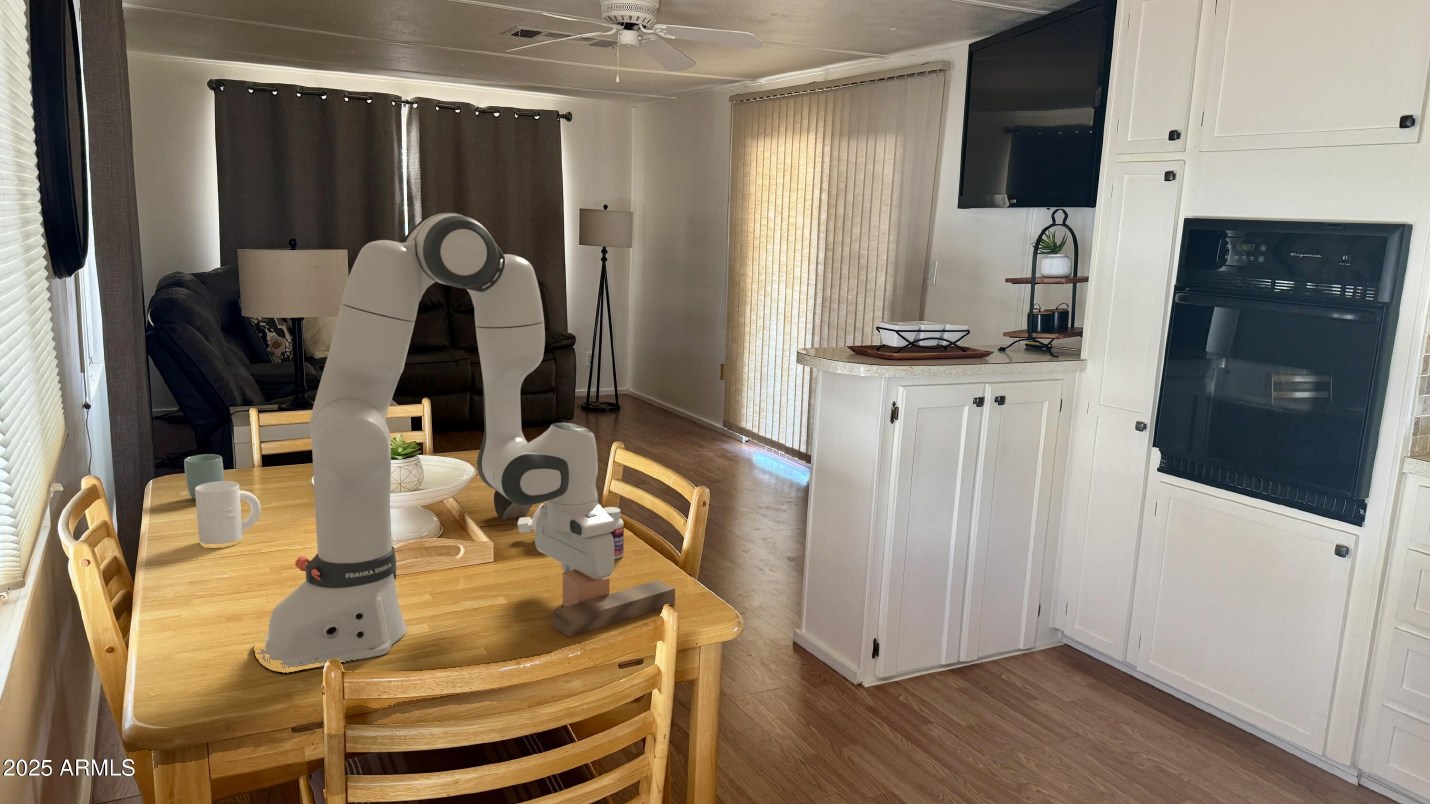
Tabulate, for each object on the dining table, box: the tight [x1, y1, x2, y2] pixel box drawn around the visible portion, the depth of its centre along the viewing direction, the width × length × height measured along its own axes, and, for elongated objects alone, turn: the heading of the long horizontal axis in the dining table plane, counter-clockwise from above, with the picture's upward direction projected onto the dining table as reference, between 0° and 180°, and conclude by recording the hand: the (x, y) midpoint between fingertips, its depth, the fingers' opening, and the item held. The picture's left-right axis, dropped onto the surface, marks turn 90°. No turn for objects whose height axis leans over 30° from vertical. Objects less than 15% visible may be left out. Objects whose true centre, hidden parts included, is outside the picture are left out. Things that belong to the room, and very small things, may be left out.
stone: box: [493, 490, 533, 521], centre depth 212 cm, size 8×8×10 cm
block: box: [562, 570, 610, 607], centre depth 163 cm, size 6×6×6 cm
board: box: [552, 579, 676, 638], centre depth 160 cm, size 22×5×3 cm, turn 131°
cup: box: [183, 453, 225, 500], centre depth 221 cm, size 8×8×10 cm
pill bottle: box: [602, 506, 625, 560], centre depth 189 cm, size 5×5×10 cm
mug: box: [195, 480, 261, 544], centre depth 193 cm, size 8×12×12 cm
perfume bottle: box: [517, 501, 547, 534], centre depth 197 cm, size 9×9×12 cm
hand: (572, 587), depth 167 cm, fingers closed
